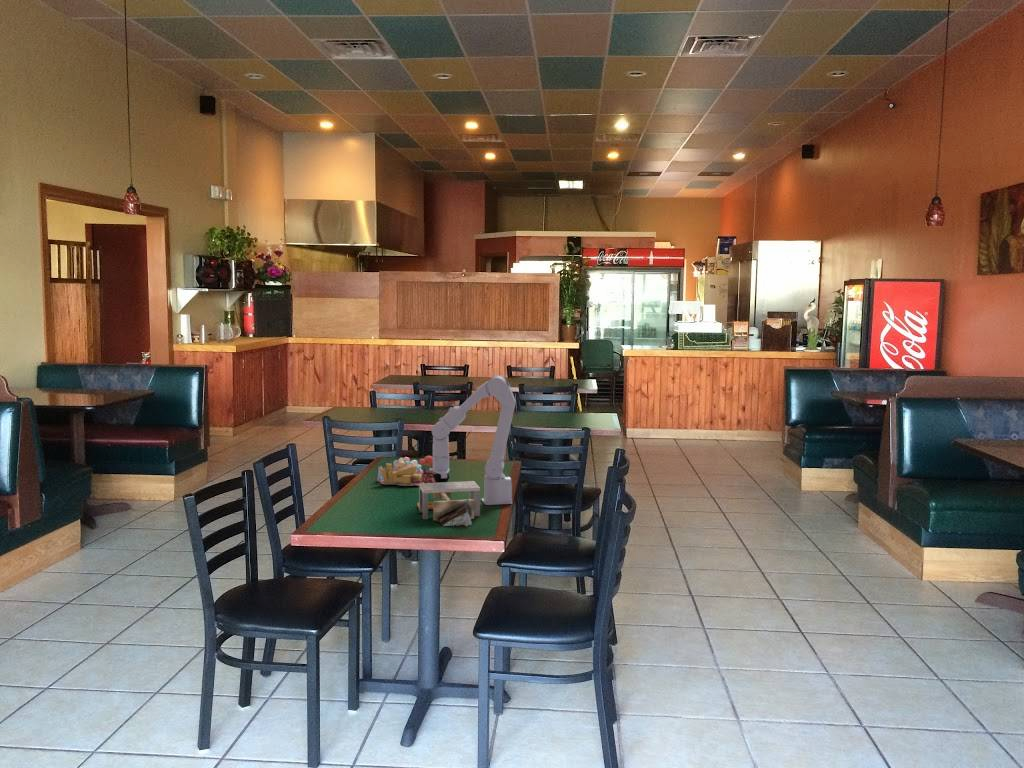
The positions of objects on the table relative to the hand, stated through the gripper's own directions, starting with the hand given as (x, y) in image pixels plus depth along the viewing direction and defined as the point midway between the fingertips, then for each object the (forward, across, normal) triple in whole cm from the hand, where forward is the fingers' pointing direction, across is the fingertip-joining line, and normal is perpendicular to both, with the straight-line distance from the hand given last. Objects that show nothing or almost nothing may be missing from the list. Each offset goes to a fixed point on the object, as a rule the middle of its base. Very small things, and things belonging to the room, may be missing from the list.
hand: (440, 494), depth 285 cm
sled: (+2, +14, 0) cm, 14 cm away
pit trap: (+2, +8, 0) cm, 9 cm away
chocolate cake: (+3, +30, 0) cm, 30 cm away
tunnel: (+2, +18, 0) cm, 18 cm away
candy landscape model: (+3, -36, -7) cm, 37 cm away
